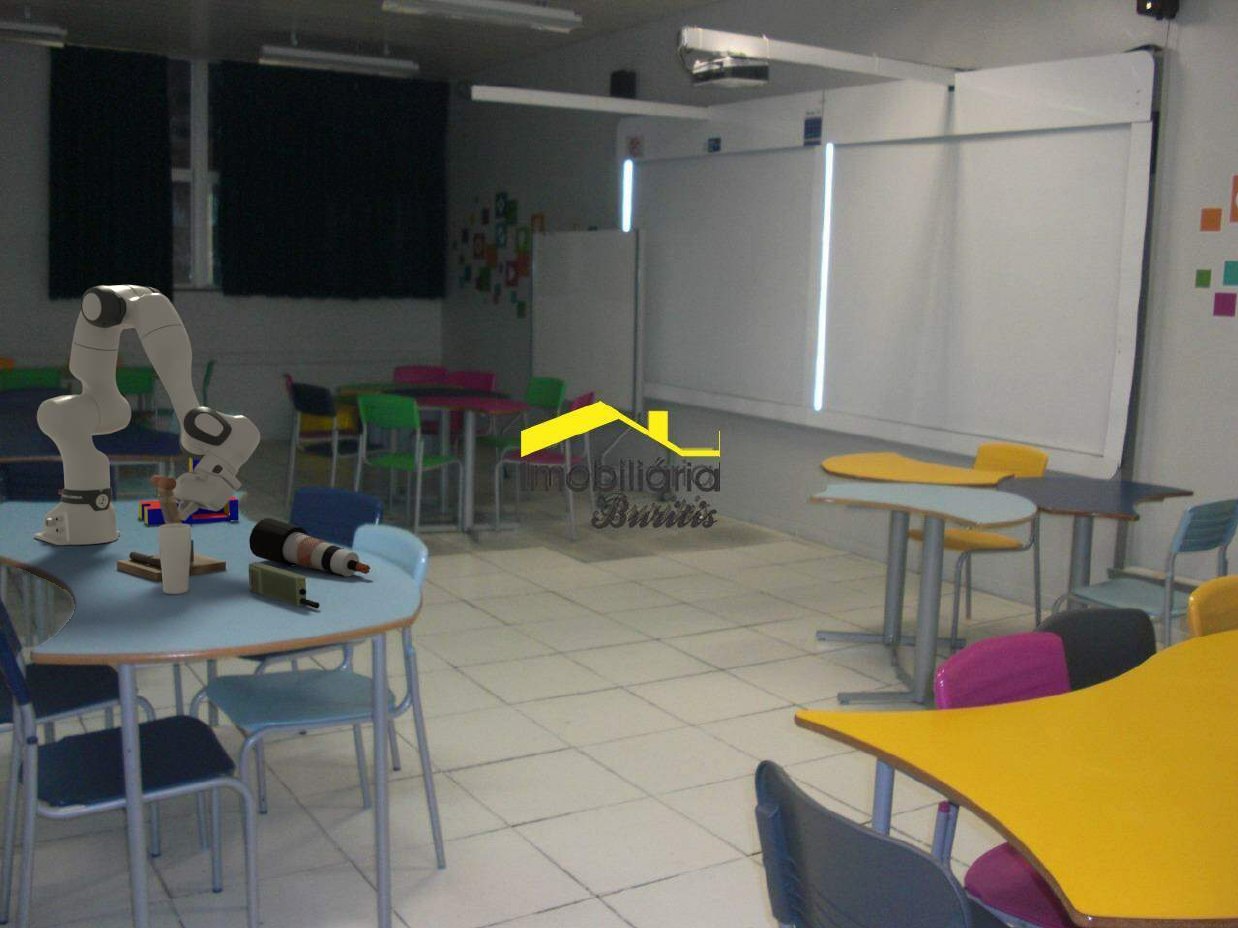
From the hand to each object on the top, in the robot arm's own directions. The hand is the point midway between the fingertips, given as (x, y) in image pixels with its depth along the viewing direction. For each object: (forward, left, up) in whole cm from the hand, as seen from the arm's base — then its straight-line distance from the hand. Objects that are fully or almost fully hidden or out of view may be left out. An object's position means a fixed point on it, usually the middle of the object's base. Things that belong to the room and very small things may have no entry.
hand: (179, 518), depth 290 cm
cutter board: (0, -2, -12) cm, 12 cm away
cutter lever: (0, +1, -9) cm, 9 cm away
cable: (+26, +18, -13) cm, 34 cm away
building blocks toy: (-51, +47, -13) cm, 71 cm away
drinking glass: (+19, -17, -12) cm, 28 cm away
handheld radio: (+42, -8, -13) cm, 45 cm away
